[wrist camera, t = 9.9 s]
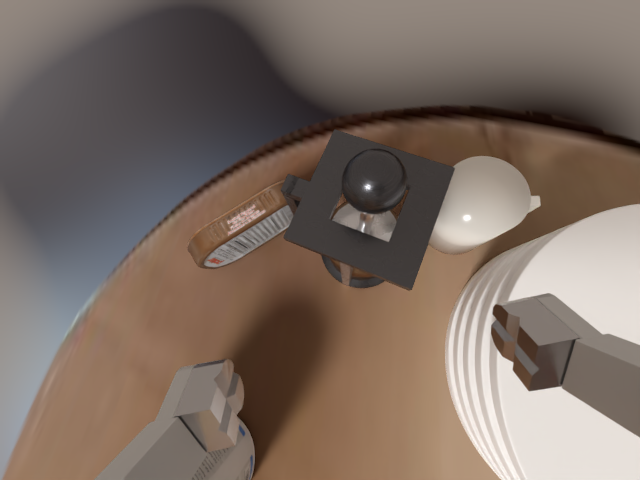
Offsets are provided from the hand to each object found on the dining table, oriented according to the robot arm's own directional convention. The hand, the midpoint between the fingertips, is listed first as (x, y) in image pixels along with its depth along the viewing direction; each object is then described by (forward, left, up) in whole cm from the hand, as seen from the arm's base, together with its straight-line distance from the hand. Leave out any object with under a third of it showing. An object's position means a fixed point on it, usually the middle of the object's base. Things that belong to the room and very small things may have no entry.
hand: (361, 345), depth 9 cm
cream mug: (-7, -16, -25) cm, 30 cm away
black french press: (+4, -9, -25) cm, 27 cm away
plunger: (+2, -9, -19) cm, 21 cm away
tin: (+14, -6, -25) cm, 29 cm away
